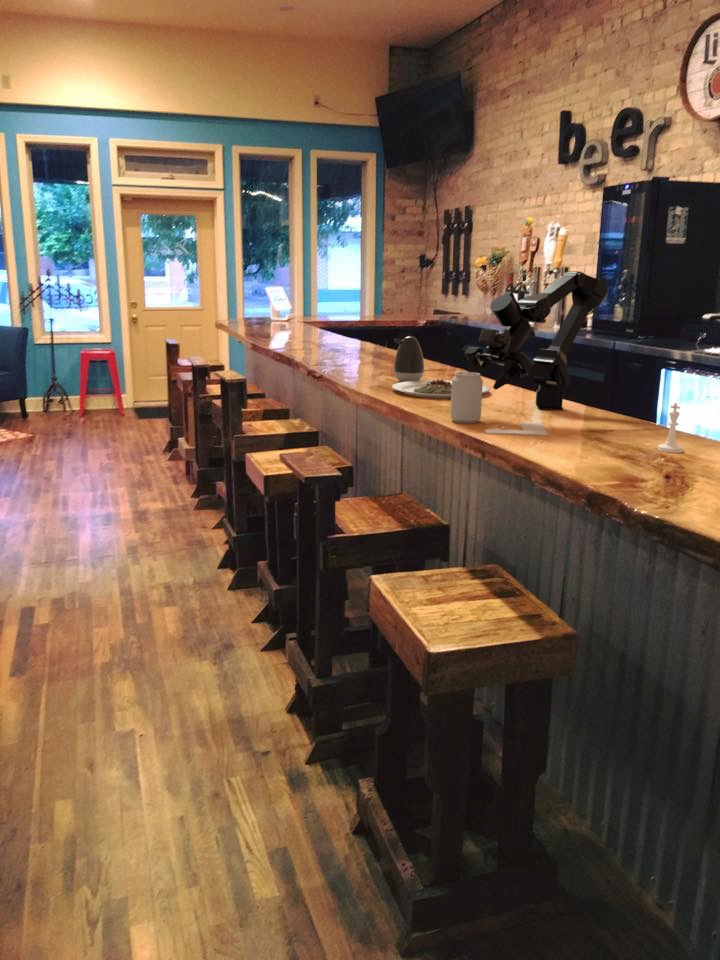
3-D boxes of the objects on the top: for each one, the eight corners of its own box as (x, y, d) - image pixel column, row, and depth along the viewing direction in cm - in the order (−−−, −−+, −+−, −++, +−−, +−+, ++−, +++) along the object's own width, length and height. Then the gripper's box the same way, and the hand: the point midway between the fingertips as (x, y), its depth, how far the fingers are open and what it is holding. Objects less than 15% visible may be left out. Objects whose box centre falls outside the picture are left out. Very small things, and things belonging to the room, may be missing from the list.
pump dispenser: (389, 379, 264) (390, 334, 260) (419, 379, 266) (420, 334, 262) (396, 384, 254) (397, 337, 250) (427, 383, 256) (428, 337, 252)
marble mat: (540, 424, 190) (540, 422, 190) (547, 435, 176) (547, 434, 176) (482, 422, 191) (482, 420, 191) (485, 433, 178) (485, 432, 178)
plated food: (418, 403, 220) (418, 391, 219) (376, 388, 247) (376, 377, 246) (508, 398, 231) (509, 386, 230) (459, 384, 258) (459, 374, 257)
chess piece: (662, 446, 167) (667, 400, 164) (685, 449, 164) (691, 403, 161) (654, 450, 163) (659, 403, 160) (678, 453, 160) (684, 406, 157)
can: (463, 425, 187) (465, 375, 184) (444, 420, 193) (446, 372, 190) (487, 422, 191) (489, 373, 188) (467, 417, 197) (469, 370, 194)
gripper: (470, 315, 199) (438, 361, 195) (527, 319, 185) (494, 369, 181) (490, 344, 206) (459, 389, 202) (546, 350, 192) (514, 399, 188)
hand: (480, 386), depth 193 cm, fingers open, 9 cm apart
